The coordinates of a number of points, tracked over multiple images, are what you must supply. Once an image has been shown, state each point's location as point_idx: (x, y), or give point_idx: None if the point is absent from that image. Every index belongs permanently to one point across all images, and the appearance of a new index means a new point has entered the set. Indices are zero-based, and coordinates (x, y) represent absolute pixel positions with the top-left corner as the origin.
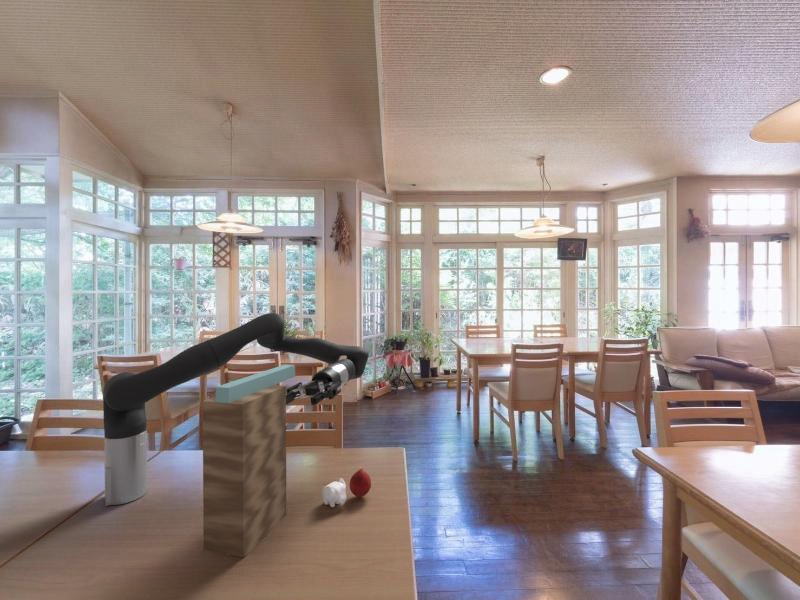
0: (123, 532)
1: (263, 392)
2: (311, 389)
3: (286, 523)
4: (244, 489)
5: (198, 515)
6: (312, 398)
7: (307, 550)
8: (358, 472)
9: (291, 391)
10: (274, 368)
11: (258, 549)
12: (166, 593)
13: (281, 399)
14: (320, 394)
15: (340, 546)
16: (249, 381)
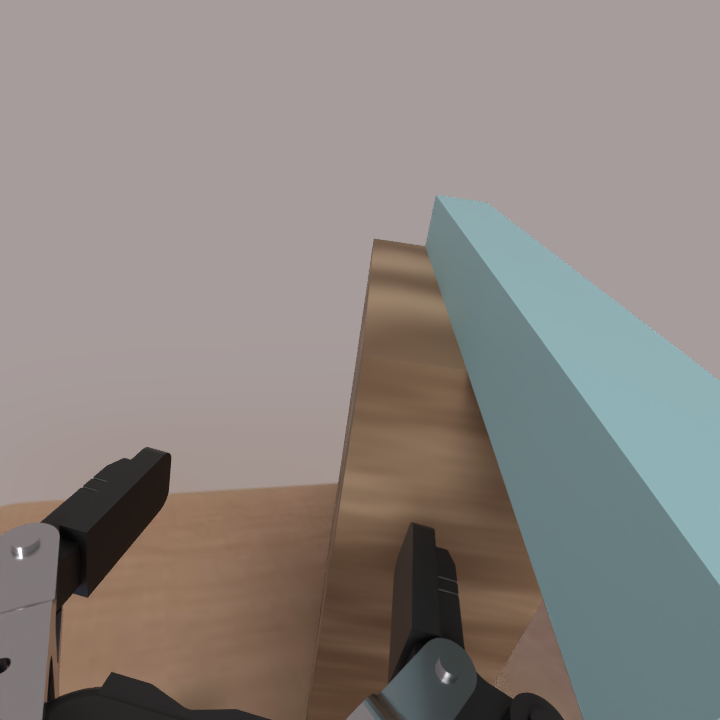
0: None
1: (403, 290)
2: (188, 716)
3: (282, 690)
4: (343, 448)
5: (561, 686)
6: (153, 449)
7: (195, 586)
8: None
9: (441, 640)
10: (685, 367)
11: (311, 576)
12: None
13: (355, 394)
14: (68, 513)
15: (107, 610)
16: (449, 218)
